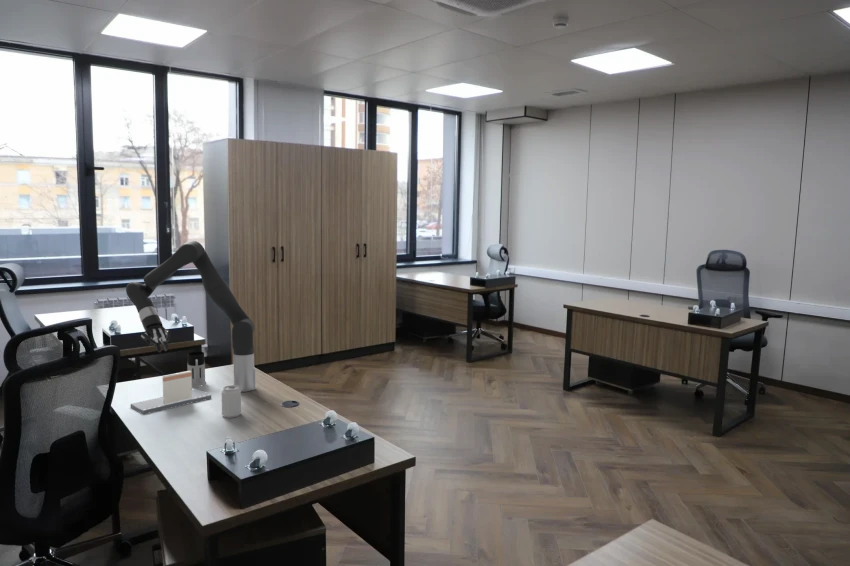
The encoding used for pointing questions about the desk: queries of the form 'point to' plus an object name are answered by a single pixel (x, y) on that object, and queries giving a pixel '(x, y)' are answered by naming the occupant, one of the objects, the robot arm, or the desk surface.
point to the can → (231, 401)
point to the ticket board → (158, 403)
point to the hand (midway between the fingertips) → (163, 350)
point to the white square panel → (177, 387)
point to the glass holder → (196, 368)
